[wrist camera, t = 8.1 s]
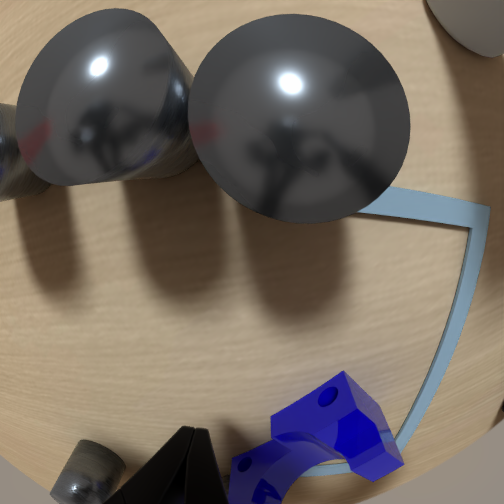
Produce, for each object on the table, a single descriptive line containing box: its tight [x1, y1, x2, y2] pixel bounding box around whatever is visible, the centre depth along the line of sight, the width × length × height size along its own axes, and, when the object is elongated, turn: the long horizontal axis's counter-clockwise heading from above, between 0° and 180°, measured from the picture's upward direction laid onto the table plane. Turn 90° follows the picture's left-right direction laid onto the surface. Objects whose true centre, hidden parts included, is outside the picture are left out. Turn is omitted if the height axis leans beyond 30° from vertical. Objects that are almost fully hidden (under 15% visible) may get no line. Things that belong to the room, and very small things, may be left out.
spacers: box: [0, 8, 410, 504], centre depth 9 cm, size 14×23×5 cm, turn 177°
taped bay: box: [300, 186, 491, 477], centre depth 11 cm, size 8×16×1 cm, turn 177°
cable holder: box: [228, 371, 404, 504], centre depth 10 cm, size 8×4×4 cm, turn 133°
